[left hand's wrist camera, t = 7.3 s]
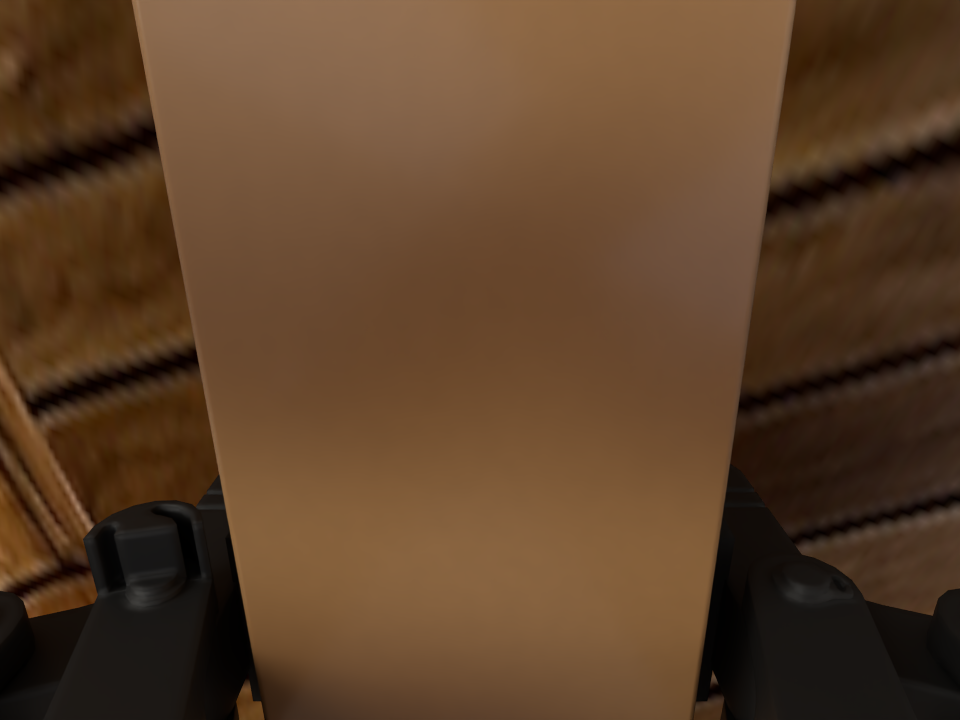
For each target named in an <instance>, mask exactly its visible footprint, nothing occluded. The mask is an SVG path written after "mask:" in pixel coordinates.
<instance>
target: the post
mask: <svg viewBox="0 0 960 720" xmlns="http://www.w3.org/2000/svg"><path fill="white" fill-rule="evenodd" d="M132 3H133V9H134V14H135V20H136V25H137V30H138V36H139V41H140V47H141V52H142V58H143V63H144V68H145V74H146V79H147V85H148V90H149V95H150V101H151V106H152V112H153V117H154V123H155V128H156V133H157V139H158V144H159V150H160V155H161V160H162V166H163V171H164V177H165V182H166V188H167V193H168V198H169V204H170V209H171V215H172V220H173V225H174V231H175V236H176V242H177V247H178V253H179V258H180V263H181V269H182V274H183V280H184V285H185V290H186V296H187V301H188V307H189V312H190V318H191V323H192V328H193V334H194V339H195V345H196V350H197V355H198V361H199V366H200V372H201V377H202V383H203V388H204V393H205V399H206V404H207V410H208V415H209V420H210V426H211V431H212V437H213V442H214V448H215V453H216V458H217V464H218V469H219V475H220V480H221V485H222V491H223V496H224V502H225V507H226V512H227V518H228V523H229V529H230V534H231V540H232V545H233V550H234V556H235V561H236V567H237V572H238V577H239V583H240V588H241V594H242V599H243V605H244V610H245V615H246V621H247V626H248V632H249V637H250V642H251V648H252V653H253V659H254V664H255V670H256V675H257V680H258V686H259V691H260V697H261V702H262V707H263V713H264V718H265V720H693V718H694V711H695V704H696V697H697V690H698V683H699V676H700V669H701V662H702V655H703V648H704V641H705V634H706V627H707V620H708V613H709V606H710V599H711V592H712V585H713V578H714V571H715V564H716V557H717V550H718V543H719V537H720V530H721V523H722V516H723V509H724V502H725V495H726V488H727V481H728V474H729V467H730V460H731V453H732V446H733V439H734V432H735V425H736V418H737V411H738V404H739V397H740V390H741V383H742V376H743V369H744V362H745V355H746V348H747V342H748V335H749V328H750V321H751V314H752V307H753V300H754V293H755V286H756V279H757V272H758V265H759V258H760V251H761V244H762V237H763V230H764V223H765V216H766V209H767V202H768V195H769V188H770V181H771V174H772V167H773V160H774V154H775V147H776V140H777V133H778V126H779V119H780V112H781V105H782V98H783V91H784V84H785V77H786V70H787V63H788V56H789V49H790V42H791V35H792V28H793V21H794V14H795V7H796V0H132Z"/></svg>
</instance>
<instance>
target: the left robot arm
mask: <svg viewBox="0 0 960 720" xmlns="http://www.w3.org/2000/svg"><path fill="white" fill-rule="evenodd" d="M83 541H84V545H85V548H86V552H87V556H88V560H89V563H90V567H91V571H92V574H93V578H94V582H95V586H96V589H97V593H98V596H97V599H96V601H95V603H94V604H90V605H87V606H83V607H80V608H75V609H70V610H66V611H61V612H57V613H52V614H47V615H43V616H38V617H34V618H28V615H27V612H26V608H25V605H24V602H23V601H22V600H21V599H20V598H19V597H17V596H16V595H15V594H14V593H9V592H3V591H0V720H239V715H238V709H237V704H236V700H237V698H238V695H239V693H240V691H241V688H242V686H243V683H244V681H245V679H246V676H247V674H248V673H249V679H250V685H251V691H252V697H253V701H261V697H260V691H259V686H258V680H257V675H256V670H255V664H254V659H253V653H252V648H251V642H250V637H249V632H248V626H247V621H246V615H245V610H244V605H243V599H242V594H241V588H240V583H239V577H238V572H237V567H236V561H235V556H234V550H233V545H232V540H231V534H230V529H229V523H228V518H227V512H226V507H225V502H224V496H223V491H222V485H221V480H220V475H218V477H217V478H216V479H215V481H214V482H213V484H212V485H211V486H210V488H209V489H208V490H207V495H204V496H203V497H202V499H201V500H200V502H199V503H198V504H197V506H196V507H194V506H193V505H192V504H189V503H185V502H180V501H176V500H173V501H153V502H149V503H144V504H139V505H135V506H132V507H129V508H127V509H124V510H122V511H119V512H117V513H114V514H112V515H110V516H109V517H107V518H106V519H104V520H103V521H101V522H100V523H98V524H97V525H95V526H94V527H93V528H92V529H91V530H90V532H89V533H88V534H87V535H86V536H85V537H84V539H83ZM712 671H713V672H714V674H715V676H716V679H717V681H718V684H719V686H720V688H721V691H722V693H723V696H724V704H723V709H722V714H721V720H960V589H954V590H948V591H947V592H946V593H944V594H943V595H942V596H941V597H940V598H938V601H937V604H936V607H935V610H934V614H933V616H931V615H926V614H921V613H917V612H912V611H908V610H903V609H898V608H894V607H889V606H884V605H880V604H877V603H873V602H870V601H866V600H864V597H863V595H862V593H861V592H860V591H859V589H858V588H857V587H856V585H855V584H854V582H853V581H852V580H851V579H850V578H848V577H847V576H846V575H844V574H843V573H842V572H840V571H839V570H838V569H836V568H835V567H833V566H831V565H829V564H827V563H824V562H822V561H820V560H818V559H816V558H813V557H809V556H805V555H802V554H801V553H800V552H799V550H798V549H797V548H796V546H795V545H794V543H793V542H792V541H791V539H790V538H789V537H788V535H787V534H786V532H785V531H784V530H783V528H782V527H781V526H780V524H779V523H778V521H777V520H776V519H775V517H774V516H773V515H772V513H771V512H770V510H769V509H768V508H767V507H765V503H764V502H763V501H762V499H761V498H760V497H759V495H758V494H757V492H754V488H753V487H752V486H751V484H750V483H749V481H748V480H747V479H746V477H745V476H744V475H743V473H742V472H741V471H740V470H739V469H737V468H736V467H734V466H733V465H731V464H730V467H729V474H728V481H727V488H726V495H725V502H724V509H723V516H722V523H721V530H720V537H719V543H718V550H717V557H716V564H715V571H714V578H713V585H712V592H711V599H710V606H709V613H708V620H707V627H706V634H705V641H704V648H703V655H702V662H701V669H700V676H699V683H698V690H697V697H696V701H707V700H708V694H709V688H710V682H711V676H712Z"/></svg>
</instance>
